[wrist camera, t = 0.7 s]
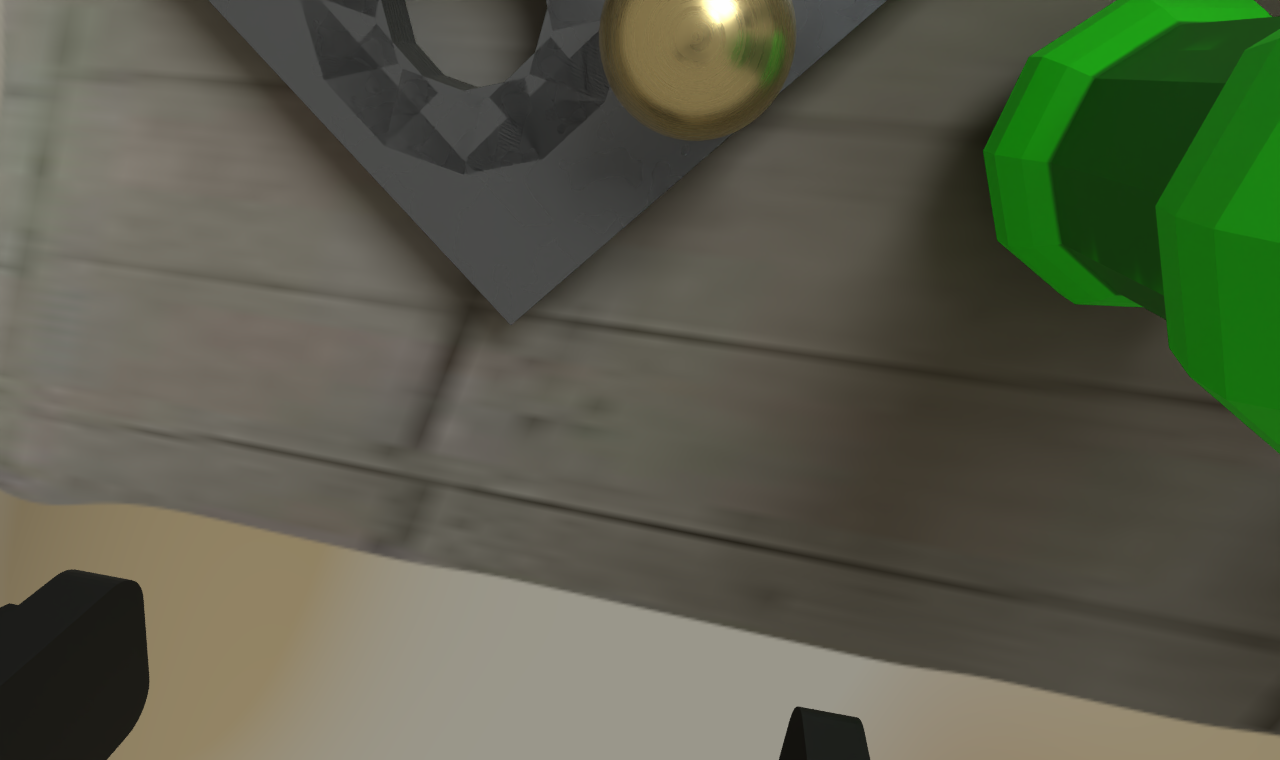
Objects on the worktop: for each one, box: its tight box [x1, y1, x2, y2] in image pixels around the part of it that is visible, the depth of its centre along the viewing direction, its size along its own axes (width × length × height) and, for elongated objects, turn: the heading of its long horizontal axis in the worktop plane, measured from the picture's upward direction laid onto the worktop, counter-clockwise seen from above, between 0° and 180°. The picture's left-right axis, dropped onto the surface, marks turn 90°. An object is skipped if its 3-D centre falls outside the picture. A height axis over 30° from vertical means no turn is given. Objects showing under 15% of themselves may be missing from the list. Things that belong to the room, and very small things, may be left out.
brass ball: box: [599, 0, 797, 141], centre depth 25 cm, size 6×6×6 cm
